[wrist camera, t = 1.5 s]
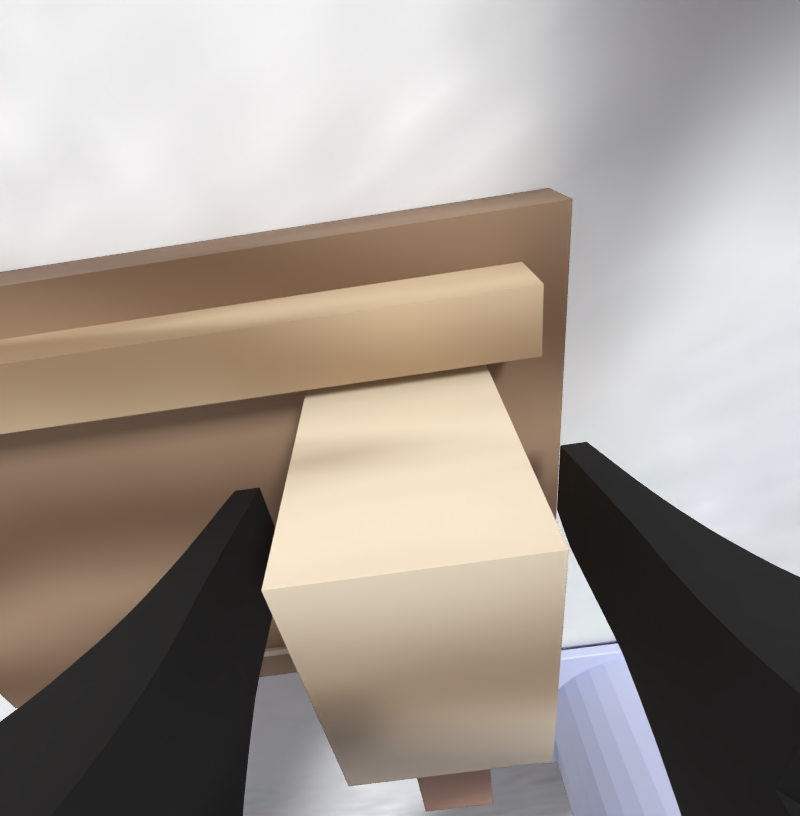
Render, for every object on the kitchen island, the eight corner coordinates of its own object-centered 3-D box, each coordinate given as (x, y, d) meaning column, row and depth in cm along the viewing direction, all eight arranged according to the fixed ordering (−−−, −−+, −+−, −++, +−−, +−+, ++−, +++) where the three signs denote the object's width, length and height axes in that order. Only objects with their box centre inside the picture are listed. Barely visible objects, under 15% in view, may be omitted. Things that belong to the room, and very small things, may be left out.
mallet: (494, 630, 17) (545, 852, 12) (381, 644, 17) (386, 871, 12) (479, 349, 11) (568, 549, 6) (309, 373, 11) (261, 590, 6)
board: (537, 603, 19) (563, 681, 16) (38, 668, 19) (-11, 753, 17) (548, 188, 11) (603, 213, 8) (-297, 317, 11) (-487, 378, 9)
